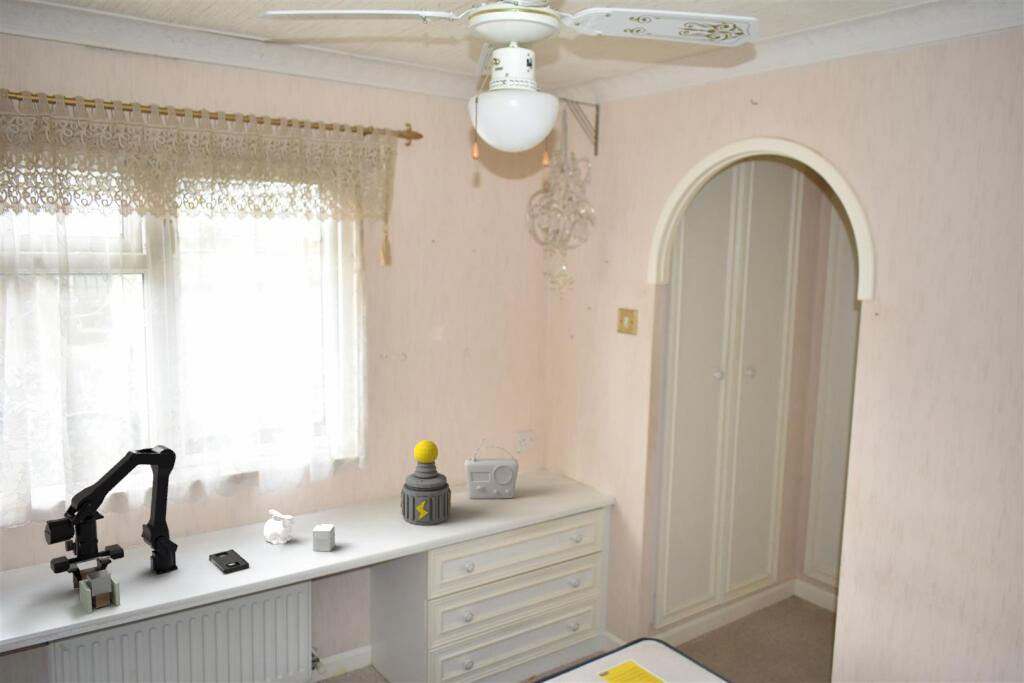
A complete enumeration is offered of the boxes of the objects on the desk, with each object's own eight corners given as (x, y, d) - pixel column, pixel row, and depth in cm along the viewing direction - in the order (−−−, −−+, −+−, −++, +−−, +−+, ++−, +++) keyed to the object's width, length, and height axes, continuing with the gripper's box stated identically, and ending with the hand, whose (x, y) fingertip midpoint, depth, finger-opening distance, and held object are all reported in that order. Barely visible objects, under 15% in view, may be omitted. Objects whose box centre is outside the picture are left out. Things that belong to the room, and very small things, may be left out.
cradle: (109, 591, 235) (107, 570, 235) (120, 604, 227) (119, 582, 226) (77, 599, 230) (76, 577, 229) (88, 613, 222) (86, 591, 221)
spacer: (106, 585, 230) (105, 569, 230) (111, 591, 227) (110, 574, 226) (87, 590, 227) (86, 573, 226) (92, 596, 223) (91, 579, 223)
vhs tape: (208, 560, 259) (208, 555, 259) (232, 554, 264) (232, 549, 264) (224, 575, 248) (224, 569, 248) (249, 569, 253) (248, 563, 253)
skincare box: (330, 551, 267) (329, 531, 266) (312, 551, 267) (312, 530, 266) (335, 544, 273) (334, 524, 272) (317, 544, 273) (317, 523, 272)
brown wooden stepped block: (73, 588, 236) (72, 572, 236) (99, 581, 241) (98, 565, 240) (89, 609, 223) (88, 593, 222) (116, 602, 227) (115, 586, 227)
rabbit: (298, 540, 276) (297, 507, 275) (278, 549, 268) (277, 515, 266) (272, 533, 282) (272, 501, 280) (252, 542, 274) (251, 509, 272)
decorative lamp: (405, 508, 310) (405, 433, 306) (453, 509, 309) (453, 434, 305) (396, 525, 291) (396, 446, 287) (447, 527, 291) (448, 447, 287)
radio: (464, 500, 319) (465, 440, 316) (464, 494, 327) (464, 435, 324) (518, 500, 321) (519, 440, 318) (516, 493, 329) (517, 435, 326)
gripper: (112, 520, 246) (115, 568, 248) (44, 535, 233) (47, 585, 236) (123, 531, 238) (126, 580, 240) (53, 546, 225) (56, 598, 227)
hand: (89, 585), depth 236 cm, fingers closed on brown wooden stepped block, 4 cm apart
